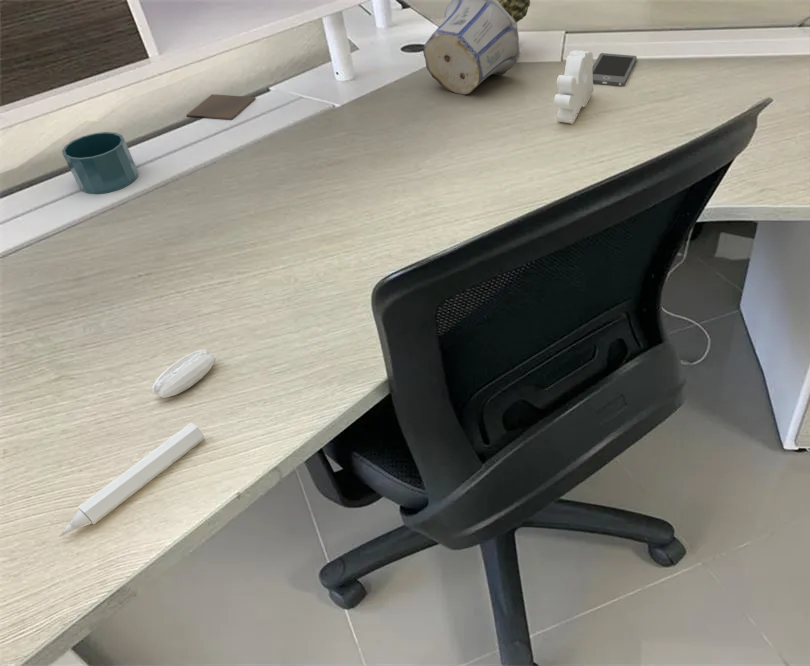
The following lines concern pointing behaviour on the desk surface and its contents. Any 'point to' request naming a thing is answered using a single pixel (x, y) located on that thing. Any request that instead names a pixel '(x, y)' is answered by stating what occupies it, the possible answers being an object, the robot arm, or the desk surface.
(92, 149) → the desk cup
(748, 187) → the desk surface
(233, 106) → the desk pad
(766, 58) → the desk surface
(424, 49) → the potted plant
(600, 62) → the smartphone
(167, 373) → the sub sandwich
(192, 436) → the marker
